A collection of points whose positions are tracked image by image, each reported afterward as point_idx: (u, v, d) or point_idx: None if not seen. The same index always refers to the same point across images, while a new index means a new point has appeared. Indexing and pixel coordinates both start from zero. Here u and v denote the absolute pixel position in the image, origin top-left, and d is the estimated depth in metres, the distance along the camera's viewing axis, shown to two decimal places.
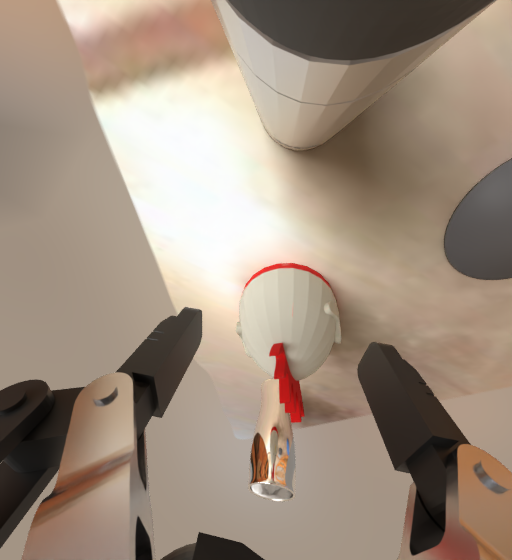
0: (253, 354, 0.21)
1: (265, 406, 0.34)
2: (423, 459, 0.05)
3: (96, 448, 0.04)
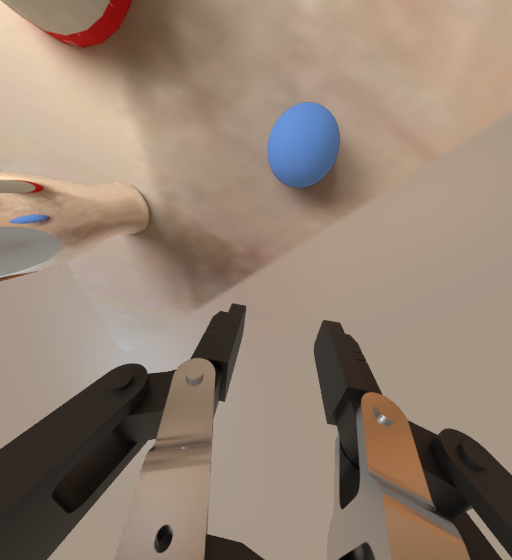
0: None
1: None
2: (343, 409, 0.06)
3: (185, 422, 0.05)
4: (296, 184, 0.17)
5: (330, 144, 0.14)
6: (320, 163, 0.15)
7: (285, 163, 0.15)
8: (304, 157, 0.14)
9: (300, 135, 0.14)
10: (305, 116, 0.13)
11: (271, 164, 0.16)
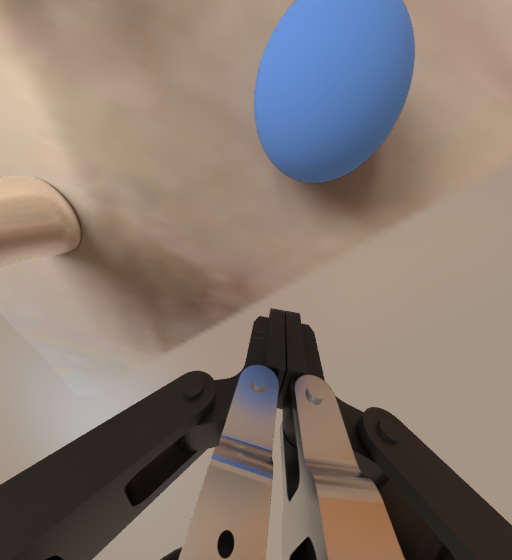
0: None
1: None
2: (287, 393, 0.07)
3: (247, 428, 0.05)
4: (312, 175, 0.08)
5: (400, 75, 0.06)
6: (371, 125, 0.06)
7: (291, 127, 0.07)
8: (338, 107, 0.06)
9: (331, 47, 0.05)
10: None
11: (261, 134, 0.08)
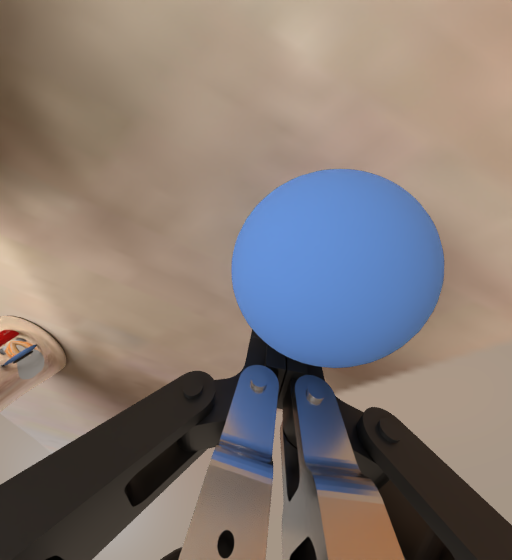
0: None
1: None
2: (287, 392, 0.07)
3: (247, 428, 0.05)
4: (341, 352, 0.04)
5: (435, 227, 0.04)
6: (434, 272, 0.04)
7: (301, 265, 0.04)
8: (382, 238, 0.03)
9: (346, 184, 0.04)
10: (339, 169, 0.05)
11: (242, 288, 0.05)
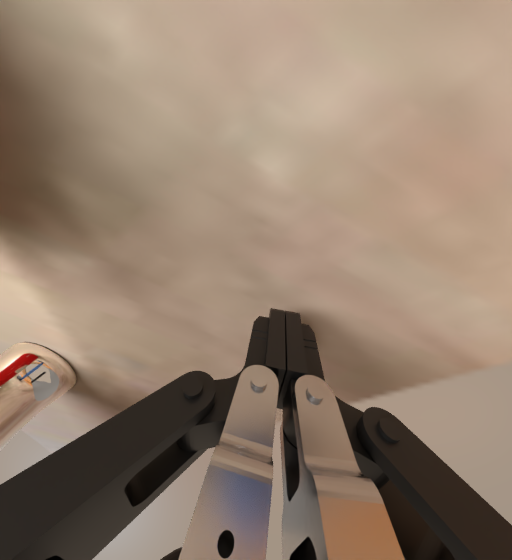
0: None
1: None
2: (287, 393, 0.07)
3: (247, 428, 0.05)
4: None
5: None
6: None
7: None
8: None
9: None
10: None
11: None
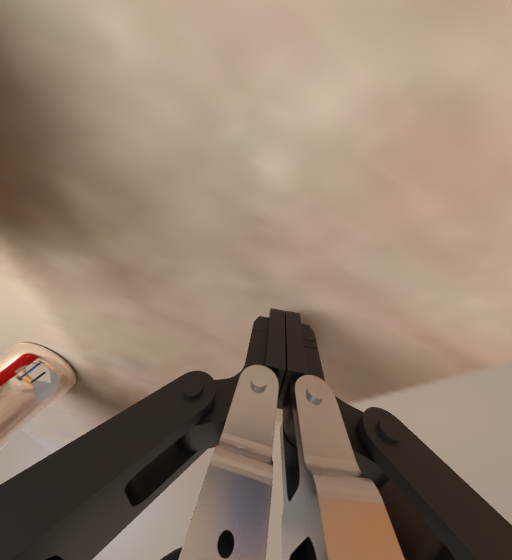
0: None
1: None
2: (287, 393, 0.07)
3: (247, 428, 0.05)
4: None
5: None
6: None
7: None
8: None
9: None
10: None
11: None
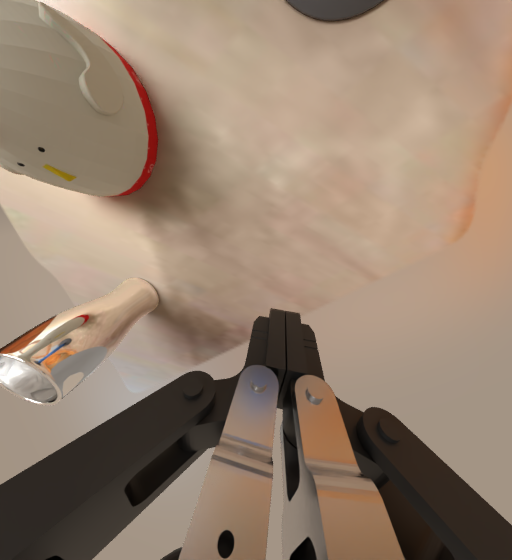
0: None
1: None
2: (287, 393, 0.07)
3: (247, 428, 0.05)
4: None
5: None
6: None
7: None
8: None
9: None
10: None
11: None
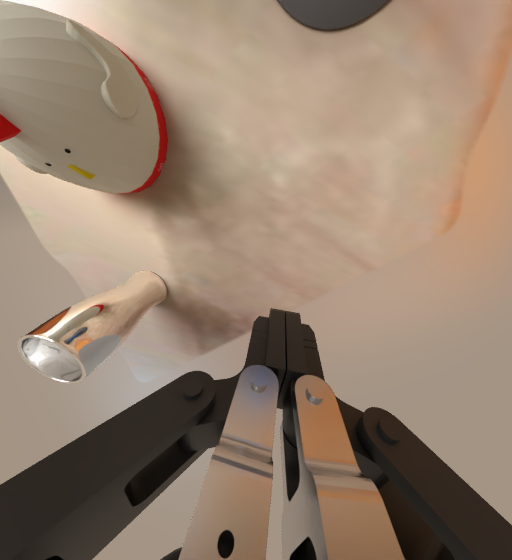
0: None
1: None
2: (287, 393, 0.07)
3: (247, 428, 0.05)
4: None
5: None
6: None
7: None
8: None
9: None
10: None
11: None
